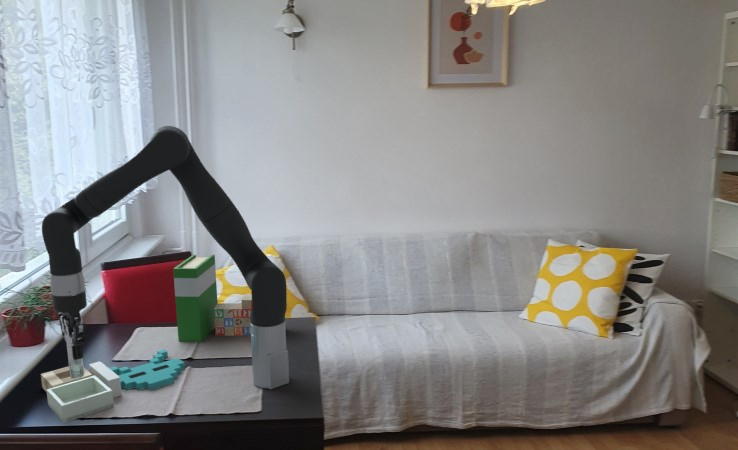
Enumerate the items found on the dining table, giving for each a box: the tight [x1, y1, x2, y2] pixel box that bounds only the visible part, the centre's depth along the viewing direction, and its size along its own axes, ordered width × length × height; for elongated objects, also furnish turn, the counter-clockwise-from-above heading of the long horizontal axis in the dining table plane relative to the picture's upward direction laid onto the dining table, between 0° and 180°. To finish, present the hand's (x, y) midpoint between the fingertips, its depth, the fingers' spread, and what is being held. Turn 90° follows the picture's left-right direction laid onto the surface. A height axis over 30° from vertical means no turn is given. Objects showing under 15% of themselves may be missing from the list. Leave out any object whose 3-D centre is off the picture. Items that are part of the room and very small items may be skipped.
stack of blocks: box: [214, 293, 252, 337], centre depth 213 cm, size 21×6×12 cm, turn 91°
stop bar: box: [88, 361, 123, 399], centre depth 174 cm, size 14×3×5 cm, turn 42°
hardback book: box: [172, 254, 219, 343], centre depth 212 cm, size 18×7×24 cm, turn 175°
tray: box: [46, 376, 114, 424], centre depth 164 cm, size 12×12×4 cm
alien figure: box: [108, 349, 186, 391], centre depth 182 cm, size 20×2×20 cm
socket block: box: [40, 365, 92, 393], centre depth 174 cm, size 10×10×4 cm
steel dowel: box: [65, 332, 85, 378], centre depth 162 cm, size 3×3×11 cm
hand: (75, 356), depth 162 cm, fingers closed on steel dowel, 3 cm apart
